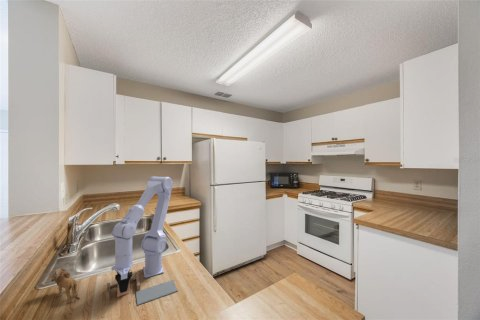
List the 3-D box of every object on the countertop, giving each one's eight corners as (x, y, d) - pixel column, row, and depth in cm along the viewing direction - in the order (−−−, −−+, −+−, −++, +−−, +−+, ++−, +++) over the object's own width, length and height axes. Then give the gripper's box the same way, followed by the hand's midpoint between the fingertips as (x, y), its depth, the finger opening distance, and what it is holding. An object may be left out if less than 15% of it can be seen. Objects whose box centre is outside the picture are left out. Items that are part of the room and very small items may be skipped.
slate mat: (135, 292, 74) (135, 291, 74) (172, 280, 82) (172, 279, 82) (137, 305, 67) (137, 304, 67) (177, 291, 75) (177, 290, 75)
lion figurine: (46, 295, 72) (47, 271, 72) (63, 287, 77) (63, 264, 77) (71, 305, 67) (71, 280, 67) (87, 295, 72) (88, 271, 72)
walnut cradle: (107, 288, 76) (107, 282, 76) (138, 279, 82) (138, 273, 82) (105, 302, 69) (106, 295, 69) (140, 291, 75) (140, 284, 75)
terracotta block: (117, 290, 75) (117, 275, 75) (129, 287, 77) (129, 272, 77) (117, 296, 72) (117, 280, 72) (129, 293, 74) (129, 277, 74)
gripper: (112, 248, 79) (111, 281, 78) (110, 264, 66) (110, 303, 66) (131, 244, 82) (131, 276, 82) (133, 259, 70) (133, 296, 70)
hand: (123, 288), depth 74 cm, fingers closed on terracotta block, 4 cm apart
